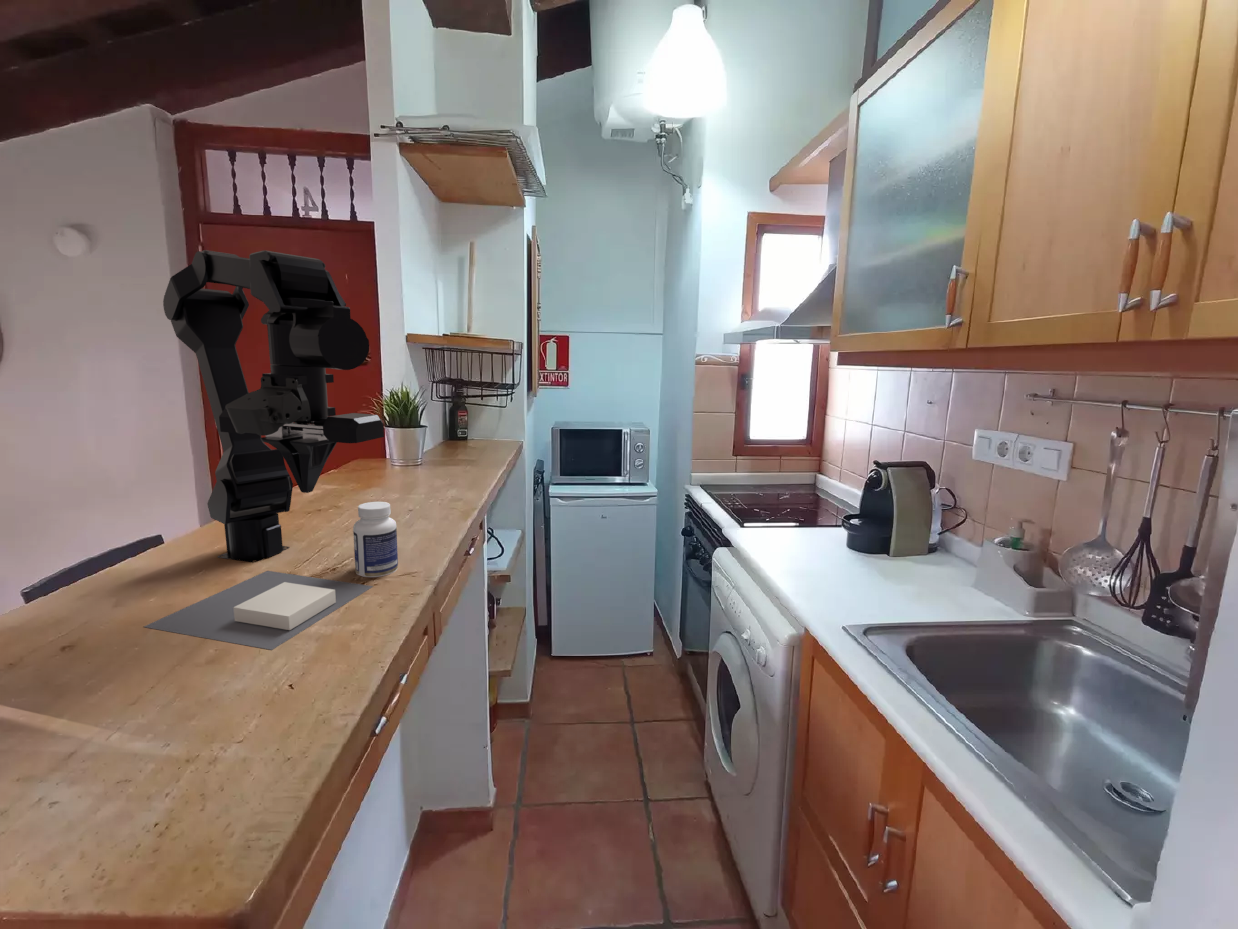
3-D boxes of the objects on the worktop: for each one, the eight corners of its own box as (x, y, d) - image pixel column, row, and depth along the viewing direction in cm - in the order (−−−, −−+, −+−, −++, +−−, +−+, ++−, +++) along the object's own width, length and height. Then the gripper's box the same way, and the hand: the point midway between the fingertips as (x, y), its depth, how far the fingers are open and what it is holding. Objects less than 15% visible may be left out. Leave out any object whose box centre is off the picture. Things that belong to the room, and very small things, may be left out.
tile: (233, 607, 60) (288, 616, 59) (284, 582, 67) (335, 589, 65) (234, 622, 60) (289, 631, 59) (285, 595, 67) (335, 603, 66)
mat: (143, 631, 59) (143, 626, 59) (267, 574, 74) (267, 570, 74) (272, 655, 56) (271, 649, 55) (373, 590, 71) (373, 586, 71)
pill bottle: (406, 569, 78) (404, 503, 76) (378, 584, 73) (375, 513, 71) (375, 563, 80) (373, 497, 78) (346, 576, 75) (342, 507, 73)
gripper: (167, 362, 60) (183, 500, 63) (316, 371, 56) (325, 518, 59) (254, 361, 71) (264, 479, 74) (384, 369, 67) (388, 493, 70)
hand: (307, 492), depth 69 cm, fingers closed
